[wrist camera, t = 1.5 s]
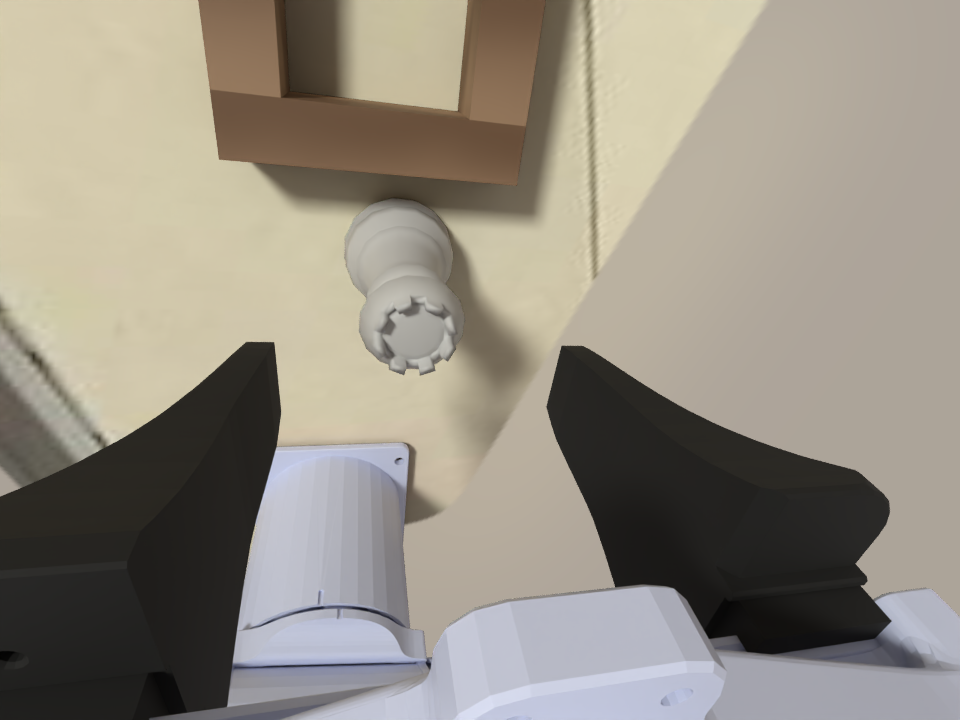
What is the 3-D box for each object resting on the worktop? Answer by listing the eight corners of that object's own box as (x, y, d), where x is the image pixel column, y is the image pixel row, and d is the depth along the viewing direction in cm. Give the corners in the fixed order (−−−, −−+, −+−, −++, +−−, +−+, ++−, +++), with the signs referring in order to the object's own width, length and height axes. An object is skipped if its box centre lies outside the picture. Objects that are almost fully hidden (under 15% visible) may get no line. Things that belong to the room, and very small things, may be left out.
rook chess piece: (471, 240, 22) (519, 326, 15) (406, 314, 23) (425, 423, 17) (388, 170, 20) (403, 235, 13) (322, 256, 21) (305, 354, 14)
